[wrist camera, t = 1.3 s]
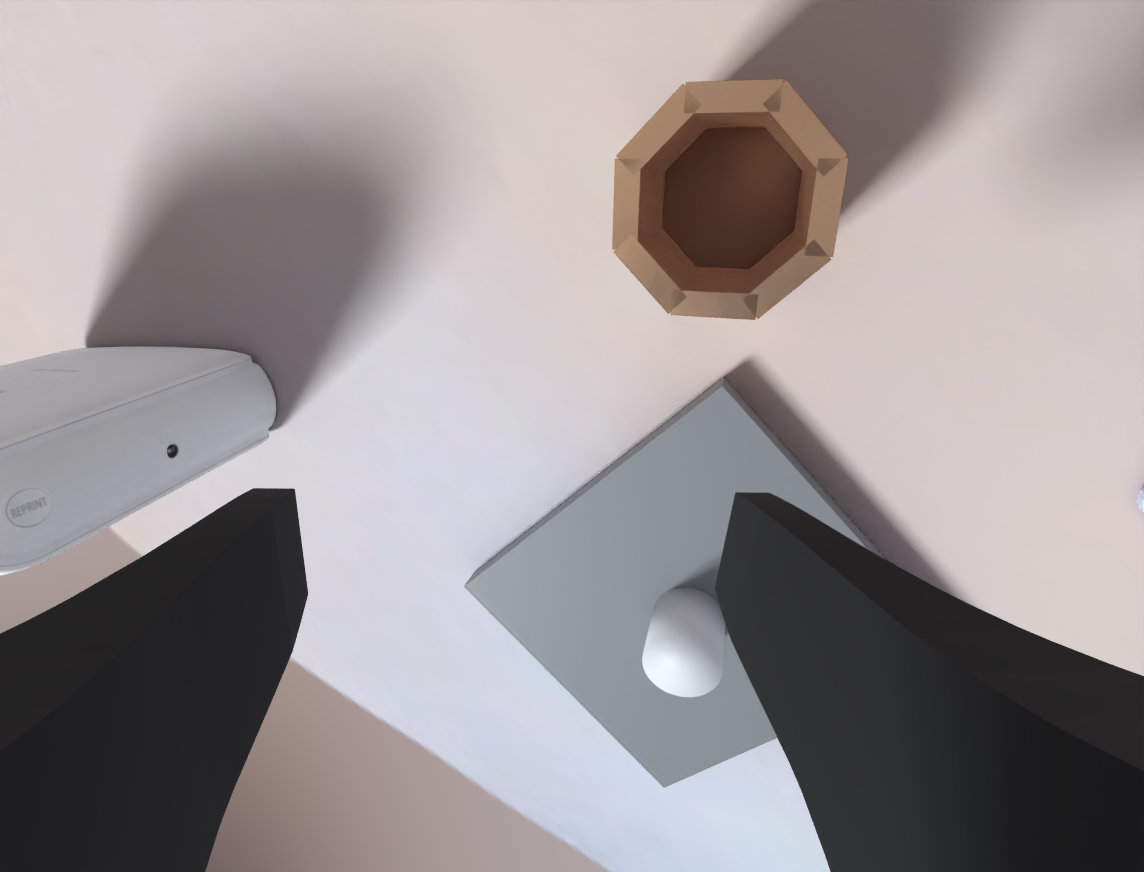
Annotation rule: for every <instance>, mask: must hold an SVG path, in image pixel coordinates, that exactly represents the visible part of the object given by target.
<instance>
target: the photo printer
mask: <svg viewBox="0 0 1144 872" xmlns="http://www.w3.org/2000/svg"><path fill="white" fill-rule="evenodd" d="M275 416H276V399H275V394H274V390H273V388H272V385H271V383H270V381H269V379H268V377H267V375H266V374H265V372H264V371H263V369H262V368H261V367H260V366H259V365H258V364H256V363H253V362H252V359H251V357H250V356H249V355H246V354H243V353H239V352H234V351H229V350H221V349H207V348H186V347H97V348H81V349H74V350H68V351H62V352H58V353H54V354H50V355H45V356H41V357H37V358H33V359H29V360H25V361H20V362H16V363H12V364H8V365H4V366H0V575H4V574H9V573H12V572H16V571H19V570H23V569H27V568H29V567H32V566H34V565H37V564H39V563H42V562H44V561H46V560H48V559H50V558H52V557H54V556H56V555H58V554H60V553H61V552H63V551H65V550H67V549H68V548H70V547H72V546H74V545H76V544H78V543H80V542H81V541H83V540H85V539H86V538H88V537H90V536H92V535H94V534H96V533H98V532H99V531H101V530H103V529H105V528H107V527H109V526H111V525H112V524H114V523H116V522H118V521H120V520H122V519H123V518H125V517H127V516H129V515H131V514H132V513H134V512H136V511H138V510H140V509H141V508H143V507H145V506H147V505H149V504H151V503H152V502H154V501H156V500H158V499H160V498H162V497H164V496H166V495H167V494H169V493H171V492H173V491H175V490H177V489H178V488H180V487H182V486H184V485H186V484H188V483H190V482H191V481H193V480H195V479H197V478H199V477H200V476H202V475H204V474H206V473H208V472H210V471H211V470H213V469H215V468H217V467H219V466H221V465H223V464H224V463H226V462H228V461H230V460H232V459H234V458H236V457H238V456H239V455H241V454H243V453H245V452H247V451H249V450H251V449H253V448H254V447H256V446H258V445H260V444H261V443H263V442H264V441H265V440H267V439H268V437H269V427H271V426H272V424H273V423H274V420H275Z"/></svg>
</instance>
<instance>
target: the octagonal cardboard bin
mask: <svg viewBox="0 0 1144 872" xmlns="http://www.w3.org/2000/svg"><path fill="white" fill-rule="evenodd" d="M783 81H784V79H767V80H735V81H703V82H686V86H685V85H684V84H682V85H681V86H680V87H679V88H678V89H677V91H676V92H675V93H674V94H673V95H672V96H671V97H670V98H669V99H668V100H667V101H666V102H665V104H664V105H663V106H662V107H661V108H660V109H659V110H658V111H657V112H656V113H655V114H654V115H653V117H652V118H651V119H650V120H649V121H648V122H647V123H646V124H645V125H644V126H643V127H642V128H641V130H640V131H639V132H638V133H637V134H636V135H635V136H634V137H633V138H632V139H631V140H630V141H629V143H628V144H627V145H626V146H625V147H624V148H623V149H622V150H621V151H620V152H619V153H618V154H617V157H618V159H615V176H614V211H613V246H612V249H616V250H615V251H614V253H615V254H616V256H617V257H618V258H619V259H620V260H621V261H622V262H623V263H624V265H625V266H626V267H627V268H628V269H629V270H630V271H631V272H632V274H633V275H634V276H635V277H636V278H637V279H638V280H639V281H640V283H641V284H642V285H643V286H644V287H645V288H646V289H647V290H648V292H649V293H650V294H651V295H652V296H653V297H654V298H655V299H656V301H657V302H658V303H659V304H660V305H661V306H662V307H663V308H664V310H665V311H666V312H667V313H668V314H669V313H670V312H671V315H680V316H697V317H715V318H732V319H750V320H755V318H756V317H757V318H758V319H759V318H760V317H761V316H762V315H763V314H765V313H766V312H767V311H768V310H770V309H771V308H772V307H773V306H775V305H776V304H777V303H778V302H779V301H781V300H782V299H783V298H784V297H786V296H787V295H788V294H789V293H791V292H792V291H793V290H794V289H796V288H797V287H798V286H799V285H800V284H802V283H803V282H804V281H805V280H807V279H808V278H809V277H810V276H812V275H813V274H814V273H815V272H817V271H818V270H819V269H820V268H821V267H823V266H824V265H825V264H826V263H828V262H829V261H830V260H831V258H830V257H833V254H834V247H835V241H836V235H837V229H838V222H839V216H840V210H841V204H842V197H843V191H844V185H845V179H846V172H847V166H848V160H849V158H845V157H846V156H848V155H847V153H846V152H845V151H844V150H843V149H842V147H841V146H840V145H839V144H838V142H837V141H836V140H835V139H834V138H833V136H832V135H831V134H830V133H829V131H828V130H827V129H826V128H825V127H824V125H823V124H822V123H821V122H820V120H819V119H818V118H817V117H816V116H815V114H814V113H813V112H812V111H811V109H810V108H809V107H808V106H807V105H806V103H805V102H804V101H803V100H802V99H801V97H800V96H799V95H798V94H797V92H796V91H795V90H794V89H793V88H792V86H791V85H790V84H789V83H788V81H787V80H786V81H785V82H784V83H783ZM749 127H766V129H767V130H768V131H769V132H770V133H771V135H772V136H773V137H774V138H775V139H776V141H777V142H778V143H779V144H780V145H781V147H782V148H783V149H784V150H785V151H786V153H787V154H788V155H789V156H790V157H791V159H792V160H793V161H794V162H795V163H796V165H797V166H798V167H799V168H800V169H801V171H802V176H801V183H800V191H799V198H798V205H797V213H796V220H795V228H794V231H793V232H792V233H791V234H790V235H788V236H787V237H786V238H785V239H784V240H783V241H782V242H780V243H779V244H778V245H777V246H776V247H775V248H773V249H772V250H771V251H770V252H769V253H768V254H766V255H765V256H764V257H763V258H762V259H761V260H759V261H758V262H757V263H756V264H755V265H754V266H752V267H751V268H750V269H740V268H714V267H696V266H695V265H694V264H693V262H692V261H691V260H690V259H689V258H688V257H687V256H686V254H685V253H684V252H683V251H682V250H681V249H680V248H679V246H678V245H677V244H676V243H675V242H674V241H673V239H672V238H671V237H670V236H669V235H668V234H667V233H666V231H665V230H664V229H663V228H662V219H663V202H664V184H665V171H666V170H667V169H668V168H669V167H670V166H671V165H672V164H673V163H674V162H675V161H676V159H677V158H678V157H679V156H680V155H681V154H682V153H683V152H684V151H685V150H686V149H687V148H688V147H689V146H690V145H691V144H692V143H693V142H694V141H695V140H696V139H697V138H698V137H699V136H700V135H701V134H702V133H703V132H704V131H705V130H706V129H707V128H749Z"/></svg>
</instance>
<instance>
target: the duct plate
mask: <svg viewBox="0 0 1144 872" xmlns="http://www.w3.org/2000/svg"><path fill="white" fill-rule="evenodd" d="M735 492H750V493H771V494H773V495H775V496H777V497H780V498H781V499H783V500H785V501H787V502H789V503H791V504H793V505H794V506H796V507H798V508H800V509H801V510H803V511H805V512H807V513H808V514H810V515H812V516H813V517H815V518H817V519H818V520H820V521H822V522H823V523H825V524H826V525H828V526H830V527H831V528H833V529H835V530H836V531H838V532H840V533H841V534H843V535H845V536H846V537H848V538H850V539H851V540H853V541H855V542H856V543H858V544H860V545H861V546H863V547H865V548H866V549H868V550H870V551H871V552H873V553H875V554H877V555H878V556H880V557H882V558H883V559H885V558H884V557H883V556H882V554H881V553H880V552H879V551H878V550H877V549H876V548H875V547H874V545H873V544H872V543H871V542H870V541H869V540H868V539H867V538H866V536H865V535H864V534H863V533H862V532H861V531H860V530H859V529H858V527H857V526H856V525H855V524H854V523H853V522H852V521H851V520H850V518H849V517H848V516H847V515H846V514H845V513H844V512H843V511H842V509H841V508H840V507H839V506H838V505H837V504H836V503H835V502H834V500H833V499H832V498H831V497H830V496H829V495H828V494H827V493H826V491H825V490H824V489H823V488H822V487H821V486H820V485H819V484H818V482H817V481H816V480H815V479H814V478H813V477H812V476H811V475H810V473H809V472H808V471H807V470H806V469H805V468H804V467H803V466H802V464H801V463H800V462H799V461H798V460H797V459H796V458H795V457H794V455H793V454H792V453H791V452H790V451H789V450H788V449H787V448H786V446H785V445H784V444H783V443H782V442H781V441H780V440H779V439H778V437H777V436H776V435H775V434H774V433H773V432H772V431H771V430H770V429H769V427H768V426H767V425H766V424H765V423H764V422H763V421H762V420H761V418H760V417H759V416H758V415H757V414H756V413H755V412H754V411H753V409H752V408H751V407H750V406H749V405H748V404H747V403H746V402H745V400H744V399H743V398H742V397H741V396H740V395H739V394H738V393H737V391H736V390H735V389H734V388H733V387H732V386H731V385H730V384H729V382H728V381H727V380H726V379H725V378H724V377H723V378H722V379H720V380H719V381H718V382H717V383H715V384H714V385H713V386H712V387H710V388H709V389H708V390H706V391H705V392H704V393H703V394H701V395H700V396H699V397H697V398H696V399H695V400H694V401H692V402H691V403H690V404H689V405H687V406H686V407H685V408H683V409H682V410H681V411H680V412H678V413H677V414H676V415H674V416H673V417H672V418H671V419H669V420H668V421H667V422H666V423H664V424H663V425H662V426H660V427H659V428H658V429H657V430H655V431H654V432H653V433H652V434H650V435H649V436H648V437H646V438H645V439H644V440H643V441H641V442H640V443H639V444H637V445H636V446H635V447H634V448H632V449H631V450H630V451H629V452H627V453H626V454H625V455H623V456H622V457H621V458H620V459H618V460H617V461H616V462H614V463H613V464H612V465H611V466H609V467H608V468H607V469H606V470H604V471H603V472H602V473H600V474H599V475H598V476H597V477H595V478H594V479H593V480H592V481H590V482H589V483H588V484H586V485H585V486H584V487H583V488H581V489H580V490H579V491H577V492H576V493H575V494H574V495H572V496H571V497H570V498H569V499H567V500H566V501H565V502H563V503H562V504H561V505H560V506H558V507H557V508H556V509H554V510H553V511H552V512H551V513H549V514H548V515H547V516H546V517H544V518H543V519H542V520H540V521H539V522H538V523H537V524H535V525H534V526H533V527H532V528H530V529H529V530H528V531H526V532H525V533H524V534H523V535H521V536H520V537H519V538H517V539H516V540H515V541H514V542H512V543H511V544H510V545H509V546H507V547H506V548H505V549H503V550H502V551H501V552H500V553H498V554H497V555H496V556H494V557H493V558H492V559H491V560H489V561H488V562H487V563H486V564H484V565H483V566H482V567H480V568H479V569H478V570H477V571H475V572H474V573H473V575H472V576H471V578H470V579H469V580H468V582H467V583H466V585H465V586H464V587H465V588H466V589H467V590H468V591H469V592H470V593H471V594H472V595H473V596H474V597H475V598H476V599H477V600H478V601H479V602H480V603H481V604H482V605H483V606H484V607H485V608H486V609H487V610H488V611H489V612H490V613H491V614H492V615H493V616H494V617H495V618H496V619H497V620H498V621H499V622H500V623H501V624H502V625H503V626H504V627H505V628H506V629H507V630H508V631H509V632H510V633H511V634H512V635H513V636H514V637H515V638H516V639H517V640H518V641H519V642H520V643H521V644H522V646H523V647H524V648H525V649H526V650H527V651H528V652H529V653H530V654H531V655H532V656H533V657H534V658H535V659H536V660H537V661H538V662H539V663H540V664H541V665H542V666H543V667H544V668H545V669H546V670H547V671H548V672H549V673H550V674H551V675H552V676H553V677H554V678H555V679H556V680H557V681H558V682H559V683H560V684H561V685H562V686H563V687H564V688H565V689H566V690H567V691H568V692H569V693H570V694H571V695H572V696H573V697H574V698H575V699H576V700H577V701H578V702H579V703H580V704H581V705H582V706H583V707H584V708H585V709H586V710H587V711H588V712H589V713H590V714H591V715H592V716H593V717H594V718H595V719H596V720H597V721H598V722H599V723H600V724H601V725H602V726H603V727H604V728H605V729H606V730H607V731H608V732H609V733H610V734H611V735H612V736H613V737H614V738H615V739H616V740H617V741H618V742H619V743H620V744H621V745H622V746H623V747H624V748H625V749H626V750H627V751H628V752H629V753H630V754H631V755H632V756H633V757H634V758H635V759H636V760H637V761H638V762H639V763H640V764H641V765H642V766H643V767H644V768H645V769H646V770H647V771H648V772H649V773H650V774H651V775H652V776H653V777H654V778H655V779H656V780H657V781H658V782H659V783H660V784H661V785H662V786H663V787H667V786H669V785H671V784H673V783H676V782H678V781H680V780H683V779H685V778H687V777H689V776H692V775H694V774H696V773H698V772H701V771H703V770H705V769H707V768H710V767H712V766H714V765H716V764H719V763H721V762H723V761H726V760H728V759H730V758H732V757H735V756H737V755H739V754H741V753H744V752H746V751H748V750H750V749H753V748H755V747H757V746H759V745H762V744H764V743H766V742H768V741H771V740H773V739H775V738H777V736H776V734H775V732H774V729H773V727H772V725H771V723H770V721H769V719H768V717H767V715H766V713H765V711H764V709H763V707H762V705H761V703H760V701H759V698H758V696H757V694H756V692H755V690H754V688H753V686H752V684H751V682H750V680H749V678H748V676H747V673H746V671H745V669H744V667H743V665H742V663H741V661H740V659H739V656H738V654H737V652H736V650H735V648H734V646H733V643H732V641H731V639H730V636H729V633H728V630H727V627H726V624H725V621H724V618H723V615H722V611H721V608H720V605H719V601H718V598H717V595H716V591H715V584H716V580H717V575H718V570H719V566H720V561H721V556H722V552H723V547H724V542H725V538H726V533H727V528H728V524H729V519H730V515H731V510H732V505H733V501H734V496H735ZM885 560H886V559H885Z"/></svg>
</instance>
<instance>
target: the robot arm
mask: <svg viewBox="0 0 1144 872" xmlns="http://www.w3.org/2000/svg"><path fill="white" fill-rule="evenodd" d="M1136 502H1137V504H1138V506H1139V508H1140V509H1141V510H1142V512H1143V513H1144V488H1143V489H1141V490H1140V492H1139V493H1138V495H1137V499H1136ZM715 591H716V595H717V598H718V601H719V605H720V608H721V611H722V615H723V618H724V621H725V624H726V627H727V630H728V633H729V636H730V639H731V641H732V643H733V646H734V648H735V650H736V652H737V654H738V656H739V659H740V661H741V663H742V665H743V667H744V669H745V671H746V673H747V676H748V678H749V680H750V682H751V684H752V686H753V688H754V690H755V692H756V694H757V696H758V698H759V701H760V703H761V705H762V707H763V709H764V711H765V713H766V715H767V717H768V719H769V721H770V723H771V725H772V727H773V729H774V732H775V734H776V736H777V738H778V740H779V742H780V744H781V746H782V748H783V750H784V752H785V754H786V756H787V758H788V761H789V763H790V765H791V767H792V770H793V772H794V774H795V777H796V779H797V781H798V784H799V786H800V788H801V791H802V793H803V796H804V799H805V802H806V804H807V807H808V810H809V812H810V815H811V818H812V821H813V823H814V826H815V829H816V832H817V834H818V837H819V840H820V842H821V845H822V848H823V851H824V853H825V856H826V859H827V862H828V865H829V868H830V871H831V872H1144V676H1142V675H1139V674H1136V673H1133V672H1130V671H1128V670H1125V669H1122V668H1119V667H1116V666H1114V665H1111V664H1108V663H1106V662H1103V661H1101V660H1098V659H1096V658H1093V657H1091V656H1088V655H1085V654H1083V653H1080V652H1078V651H1075V650H1073V649H1070V648H1068V647H1065V646H1062V645H1060V644H1057V643H1055V642H1052V641H1050V640H1047V639H1045V638H1043V637H1040V636H1038V635H1036V634H1033V633H1031V632H1029V631H1026V630H1024V629H1022V628H1019V627H1017V626H1015V625H1013V624H1011V623H1008V622H1006V621H1004V620H1002V619H1000V618H998V617H995V616H993V615H991V614H989V613H987V612H985V611H983V610H980V609H978V608H976V607H974V606H972V605H970V604H967V603H965V602H963V601H961V600H959V599H957V598H955V597H953V596H951V595H949V594H947V593H946V592H944V591H942V590H940V589H938V588H936V587H934V586H932V585H931V584H929V583H927V582H925V581H923V580H921V579H919V578H918V577H916V576H914V575H912V574H910V573H908V572H906V571H905V570H903V569H901V568H899V567H897V566H896V565H894V564H892V563H890V562H889V561H887V560H885V559H883V558H882V557H880V556H878V555H877V554H875V553H873V552H871V551H870V550H868V549H866V548H865V547H863V546H861V545H860V544H858V543H856V542H855V541H853V540H851V539H850V538H848V537H846V536H845V535H843V534H841V533H840V532H838V531H836V530H835V529H833V528H831V527H830V526H828V525H826V524H825V523H823V522H822V521H820V520H818V519H817V518H815V517H813V516H812V515H810V514H808V513H807V512H805V511H803V510H801V509H800V508H798V507H796V506H794V505H793V504H791V503H789V502H787V501H785V500H783V499H781V498H780V497H777V496H775V495H773V494H771V493H750V492H735V496H734V501H733V505H732V510H731V515H730V519H729V524H728V528H727V533H726V538H725V542H724V547H723V552H722V556H721V561H720V566H719V570H718V575H717V580H716V584H715ZM307 596H308V589H307V581H306V574H305V566H304V558H303V550H302V542H301V535H300V527H299V519H298V511H297V503H296V496H295V489H264V488H253V489H251V490H249V491H248V492H246V493H244V494H242V495H240V496H238V497H237V498H235V499H233V500H232V501H230V502H228V503H227V504H225V505H224V506H222V507H220V508H219V509H217V510H216V511H214V512H213V513H211V514H209V515H208V516H206V517H205V518H203V519H202V520H200V521H198V522H197V523H195V524H194V525H192V526H191V527H189V528H187V529H186V530H184V531H183V532H181V533H179V534H178V535H176V536H175V537H173V538H171V539H170V540H168V541H167V542H165V543H163V544H162V545H160V546H159V547H157V548H155V549H154V550H152V551H151V552H149V553H148V554H146V555H144V556H143V557H141V558H139V559H137V560H136V561H134V562H132V563H131V564H129V565H127V566H126V567H124V568H122V569H120V570H118V571H117V572H115V573H113V574H111V575H110V576H108V577H106V578H104V579H103V580H101V581H99V582H98V583H96V584H94V585H92V586H91V587H89V588H88V589H85V590H84V591H82V592H80V593H78V594H77V595H75V596H73V597H71V598H70V599H68V600H66V601H64V602H62V603H60V604H58V605H57V606H55V607H53V608H51V609H49V610H47V611H45V612H43V613H41V614H39V615H37V616H35V617H34V618H32V619H30V620H28V621H26V622H24V623H22V624H19V625H17V626H15V627H13V628H11V629H9V630H7V631H5V632H3V633H1V634H0V872H205V870H206V867H207V864H208V861H209V857H210V855H211V851H212V848H213V845H214V842H215V839H216V836H217V833H218V830H219V826H220V824H221V821H222V818H223V815H224V813H225V810H226V808H227V805H228V803H229V800H230V797H231V795H232V792H233V790H234V787H235V785H236V783H237V780H238V778H239V776H240V773H241V771H242V769H243V766H244V764H245V762H246V759H247V757H248V755H249V752H250V750H251V748H252V745H253V743H254V741H255V738H256V736H257V734H258V731H259V729H260V727H261V724H262V722H263V720H264V717H265V715H266V713H267V710H268V708H269V706H270V704H271V701H272V699H273V696H274V694H275V692H276V689H277V687H278V685H279V682H280V680H281V678H282V675H283V673H284V670H285V668H286V666H287V663H288V661H289V658H290V656H291V653H292V651H293V647H294V644H295V641H296V637H297V634H298V630H299V627H300V623H301V619H302V615H303V611H304V608H305V604H306V600H307Z"/></svg>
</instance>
